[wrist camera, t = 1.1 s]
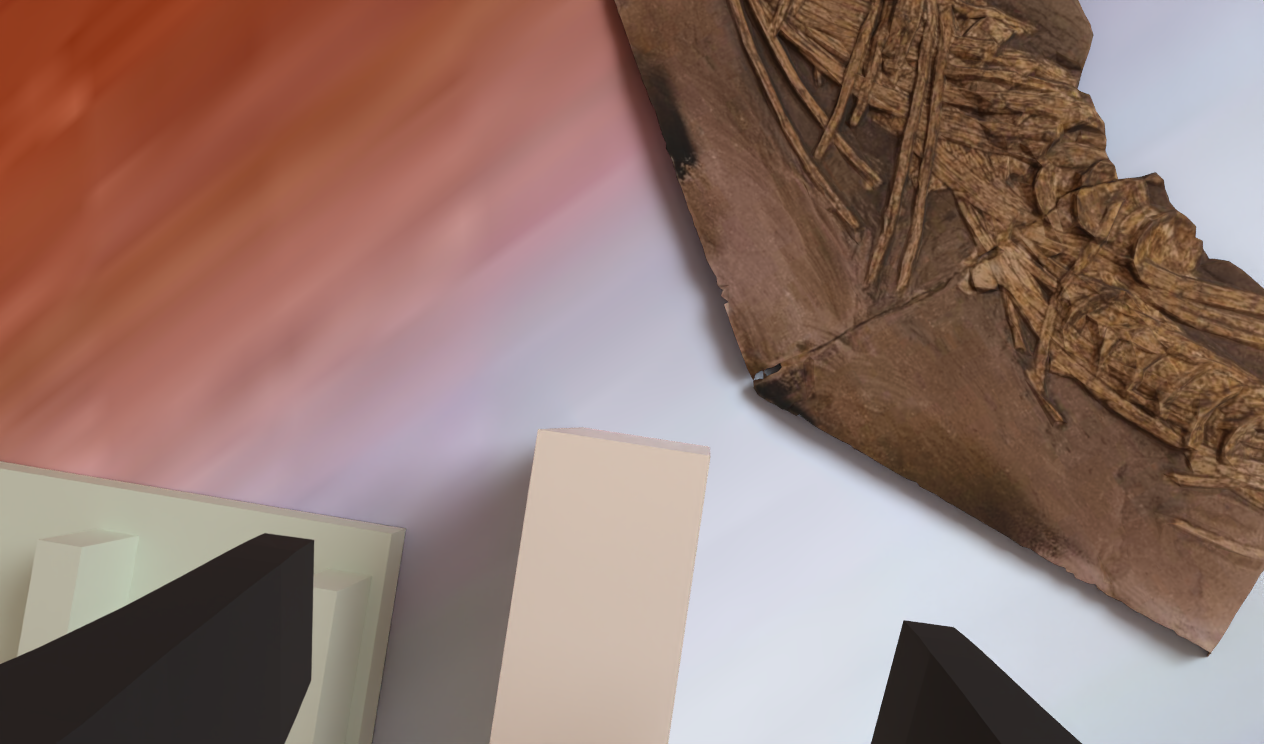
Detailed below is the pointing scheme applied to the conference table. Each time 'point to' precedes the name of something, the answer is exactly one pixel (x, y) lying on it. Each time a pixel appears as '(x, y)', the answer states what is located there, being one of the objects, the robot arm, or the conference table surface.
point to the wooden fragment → (974, 279)
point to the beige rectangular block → (600, 589)
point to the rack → (178, 543)
